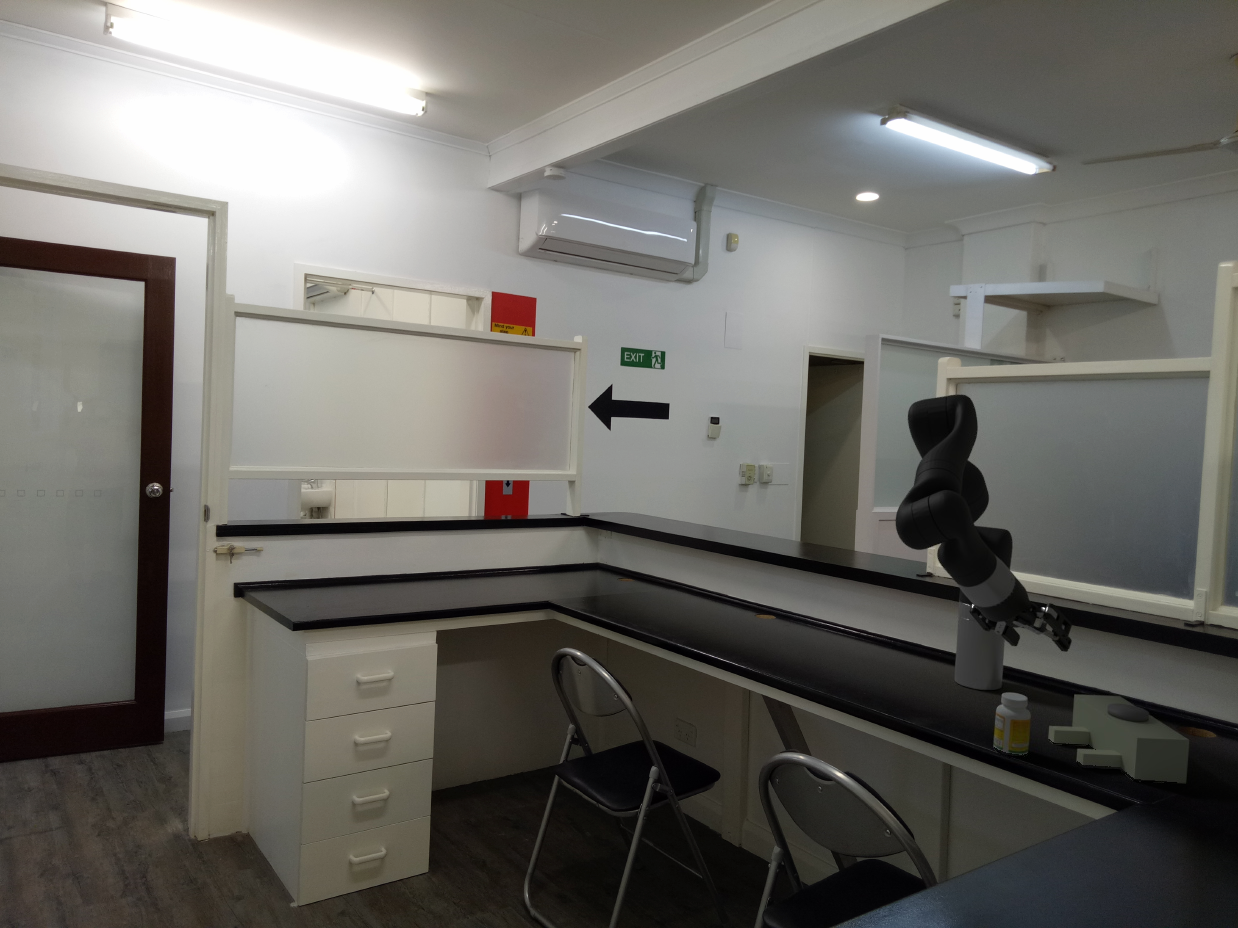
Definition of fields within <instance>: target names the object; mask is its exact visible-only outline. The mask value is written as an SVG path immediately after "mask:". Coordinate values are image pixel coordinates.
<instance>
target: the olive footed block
mask: <svg viewBox="0 0 1238 928" xmlns="http://www.w3.org/2000/svg"><path fill="white" fill-rule="evenodd" d="M1071 725H1072V726H1060V725H1049V727H1048V738H1047V739H1050V740H1051V741H1052V742H1054V743H1066V744H1068V743H1069V744H1086V745H1088V744H1089V745H1090V746H1091V747H1093V748H1094V749H1092V748H1091V747H1090V746H1089V747H1090V748H1077V750H1076V762H1077V761H1078V762H1080V763H1081V764H1082V765H1093V766H1095V765H1096V766H1108V767H1109V766H1111V767H1121V768H1122V769H1123V770H1124V771H1125V772H1127V774H1129V775H1130V776H1131V777H1133V778H1134V779H1141V780H1155V781H1167V782H1177V783H1176V784H1187V777H1188V776H1187V774H1188V764H1189V750H1190V739H1189V738H1187V737H1185V736H1183V734H1180V733H1179V732H1178V731H1176V730H1175V729H1172V728H1171V727H1170V726H1168V725H1166V724H1165V723H1163V722H1162V721H1160V720H1159V719H1156V718H1155V717H1154V716H1152V715H1150V712H1149V711H1148V710H1146V709H1145V708H1142V707H1139V706H1136V705H1134V704H1133V703H1131V702H1130V701H1128V700H1126V699H1125V698H1123V697H1122V696H1120V695H1102V694H1101V695H1099V694H1097V695H1094V694H1074V697H1073V711H1072V724H1071ZM1051 741H1050V742H1051ZM1052 742H1051V743H1052ZM1086 745H1085V746H1086ZM1095 749H1096V750H1095Z"/></svg>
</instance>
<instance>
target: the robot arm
mask: <svg viewBox="0 0 1238 928" xmlns="http://www.w3.org/2000/svg"><path fill="white" fill-rule="evenodd" d="M976 410H977V409H976V407H975V405H974V402H973V400H972V398H971V397H970V396H968V395H967V394H949V395H944V396H938V397H931V398H924V399H920V400H917V401H915V402H913V403H912V404H911V405H910V407H909V408H908V411H907V425H908V429H909V433H910V437H911V439H912V441H913V444H914V445H915V448H916V450H917V451H918V454H919V456H920V458H921V460H920V461H919V463H918V466H917V468H916V471H915V477H914V483H913V486H912V487H911V489H909V491H908V492H907V494H906V495H905V497H904V498H903V499H902V501H901V502H900V504H899V507H898V508H897V510H896V515H895V529H896V533H897V535H898V537H899V539H900V540H901V542H902V543H903V544H904V545H905V546H907V547H908V548H910V549H912V550H917V551H923V550H927V549H929V548H932V547H935V546H938V545H939V546H938V549H937V552H936V556H937V561H938V563H939V564H940V566H941V567H942V568H943V570H944V571H945V572H946V573H947V574H948V575H949V576H950V577H951V578H952V580H953V581H954V582H955V583H956V584H957V585H958V587H959V589H960V590H959V595H958V614H957V615H958V616H957V619H958V620H957V632H956V633H957V635H956V650H955V651H956V652H955V662H954V663H955V664H954V666H955V667H954V681H955V682H956V683H957V684H959V685H960V686H963V687H966V688H970V689H974V690H981V691H994V690H995V691H997V690H1000V689H1001V688H1002V687H1003V686H1002V685H1003V671H1004V657H1005V656H1004V655H1005V642H1007V643H1008V644H1009V645H1010V646H1011V647H1017V646H1018V645H1019V643H1020V639H1021V635H1020V634H1019V632H1017V630H1016V629H1017V628H1021V629H1025V630H1028V631H1029V632H1032V633H1034V634H1036V635H1038V636H1040V635H1044V636H1045V637H1048V638H1049V639H1051V641H1052V642H1053V643H1054V644H1055V645H1056V647H1057V648H1058V649H1059V650H1060V652H1064V653H1065V652H1068V651H1069V650H1070V648H1071V645H1072V642H1073V641H1072V638H1071V637H1070V636H1069V635H1070V632H1071V629H1072V627H1073V623H1072V622H1071V621H1070V620H1069V618H1067V616H1065V615H1064V614H1063V613H1062V611H1061V610H1060V609H1059V608H1058V607H1057V605H1055V604H1053V603H1051V602H1050V603H1049V602H1048V603H1047V604H1046V606H1045V607H1038V605H1037V604H1035V603H1033V602H1032V601H1030V597H1029V595H1028V591H1027V589H1026V587H1025V585H1023V584H1022V583H1021V581H1020V580H1019V579H1018V578H1017V577H1016V576H1015V575H1014V573H1013V572H1012V571H1011V563H1012V556H1013V542H1014V541H1013V536H1012V533H1011V531H1009V530H1008V529H1006V528H998V527H992V526H991V527H990V526H979V525H975V523H976V522H977V520H979V519H980V518H981V517H982V516H983V514H984V513H985V511H986V510H987V508H988V506H989V503H990V502H989V501H990V495H989V489H988V488H987V483H986V480H985V477H984V475H983V473H982V471H981V470H980V468H979V467H977V466H976V464H974V463H972V462H971V461H970V460H969V458H970V456H971V454H972V452H973V449H974V447H975V446H974V445H975V444H976V440H977V437H978V431H979V429H978V427H979V425H978V417H977V416H978V415H977V411H976ZM1038 617H1039V619H1040V620H1039V622H1038V626H1036V625H1035V624H1036V620H1037V618H1038ZM1047 625H1048V626H1049V627H1050V628H1051V630H1050V629H1048V628H1047ZM1015 628H1016V629H1015Z"/></svg>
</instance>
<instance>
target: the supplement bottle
mask: <svg viewBox="0 0 1238 928" xmlns="http://www.w3.org/2000/svg"><path fill="white" fill-rule="evenodd" d="M1000 701H1001V704H999V705H998V706H997V707H996V710H995V720H994V734H993V748H994V747H995V748H997V749H998V750H1001V751H1003V752H1006V753H1012V754H1019V755H1022V754H1023V755H1024V754H1027V753H1028V754H1029V745H1030V734H1031V733H1030V731H1031V719H1032V718H1031V716H1032V715H1031V712H1030V710H1028V709H1027V706H1028V703H1029V702H1028V701H1029V700H1028V697H1027V696H1025V695H1024V694H1020V693H1017V692H1003V693H1002V694H1001V699H1000ZM1028 754H1027V755H1028Z"/></svg>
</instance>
